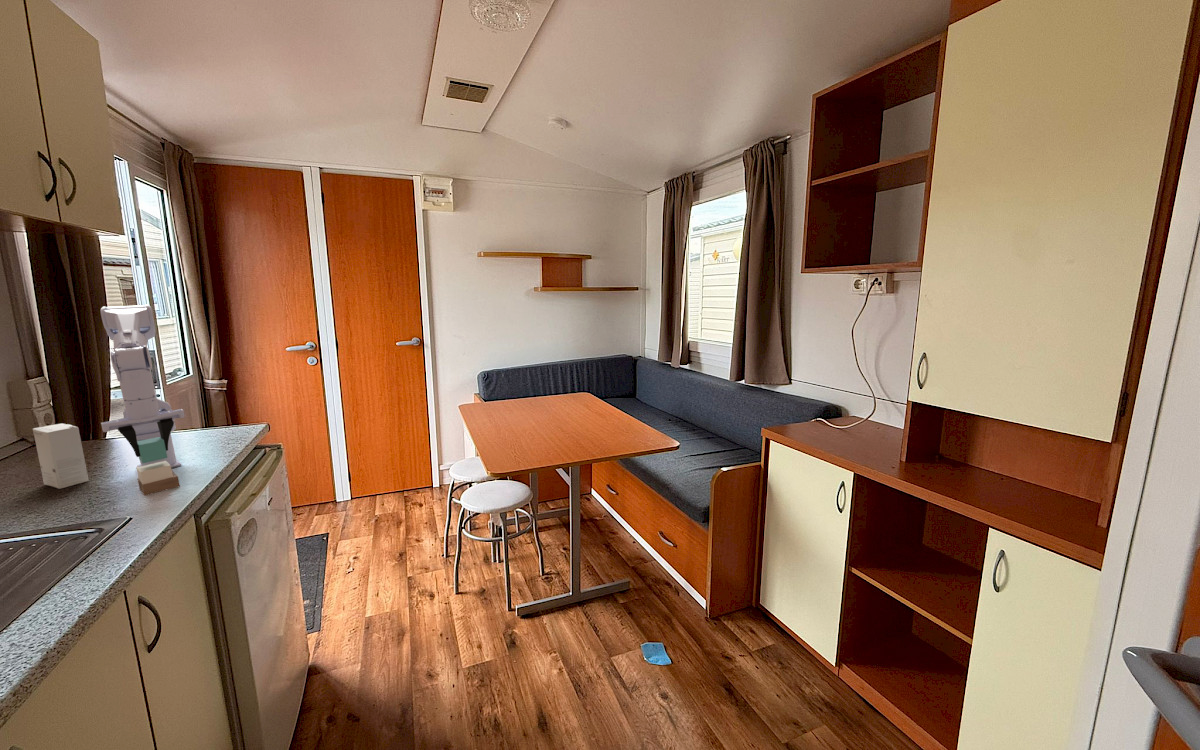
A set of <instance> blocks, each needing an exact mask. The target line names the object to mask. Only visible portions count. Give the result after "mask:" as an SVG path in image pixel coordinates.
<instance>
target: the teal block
mask: <svg viewBox="0 0 1200 750" xmlns="http://www.w3.org/2000/svg"><path fill="white" fill-rule="evenodd" d="M137 443H138V447H139V451H140V457H138V459H139V462H140V461H141V462H142V463H147V462H151V461H156V460H160V459H165V458H168V457H167V453H166V448H165V443H164V440H163V439H162V438H161V437H156V438H151V439H146V440H141V441H137Z"/></svg>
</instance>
